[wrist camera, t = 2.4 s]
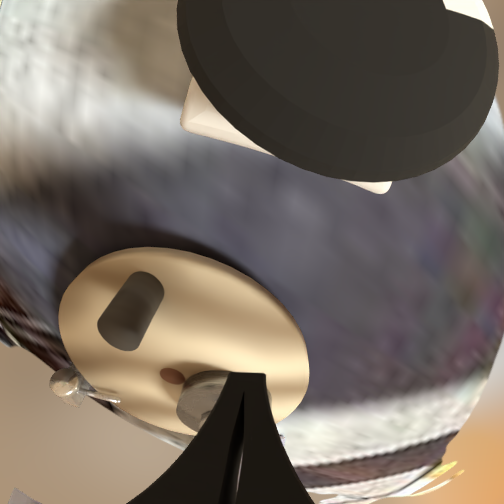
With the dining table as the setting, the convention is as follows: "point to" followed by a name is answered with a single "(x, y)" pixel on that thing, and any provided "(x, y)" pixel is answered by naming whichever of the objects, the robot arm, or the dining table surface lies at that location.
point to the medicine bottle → (341, 81)
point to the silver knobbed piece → (75, 387)
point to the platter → (177, 331)
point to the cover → (201, 397)
